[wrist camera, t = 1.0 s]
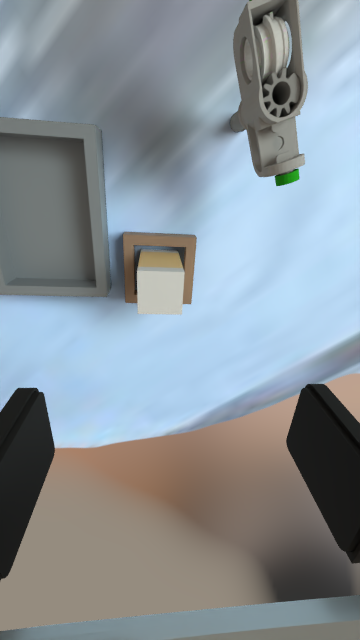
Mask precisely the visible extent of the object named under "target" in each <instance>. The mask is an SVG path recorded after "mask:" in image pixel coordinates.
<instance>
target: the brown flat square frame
mask: <svg viewBox="0 0 360 640" xmlns="http://www.w3.org/2000/svg"><path fill="white" fill-rule="evenodd" d="M196 239H197V238H196V236H195V235H186V234H164V233H141V232H124V234H123V248H124V275H125V302H126V303H138V298H137V290H135V252H134V245H147V246H172V247H185V250H184V265H183V269H184V272H185V274H184V289H183V304H191V299H192V287H193V275H194V263H195V251H196Z"/></svg>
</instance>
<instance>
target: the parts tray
mask: <svg viewBox="0 0 360 640" xmlns="http://www.w3.org/2000/svg"><path fill="white" fill-rule="evenodd" d="M110 289H111V276H110V260H109V244H108V228H107V212H106V195H105V179H104V163H103V147H102V131H101V130H100V129H99V128H98V127H97V126H96V125H90V124H78V123H65V122H53V121H41V120H29V119H17V118H4V117H0V295H42V296H87V297H107V296H108V294H109V291H110Z"/></svg>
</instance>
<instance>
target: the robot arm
mask: <svg viewBox="0 0 360 640" xmlns="http://www.w3.org/2000/svg"><path fill="white" fill-rule="evenodd" d="M286 442H287V447H288V450H289V452H290V454H291V456H292V457H293V459H294V461H295V463H296V465H297V467H298V469H299V471H300V473H301V474H302V477H303V479H304V481H305V482H306V484H307V486H308V488H309V490H310V492H311V494H312V496H313V498H314V500H315V502H316V503H317V506H318V507H319V509H320V511H321V513H322V515H323V517H324V519H325V521H326V523H327V525H328V527H329V529H330V531H331V533H332V534H333V536H334V538H335V540H336V542H337V544H338V546H339V547H340V548H341V550H343V551H346V553H347V555H348V557H349V559H350V561H351V562H352V563H360V423H359V422H358V421H357V420H356V419H355V418H354V417H353V415H352V414H351V413H350V412H349V411H348V410H347V409H346V407H344V405H343V404H342V403H341V402H340V401H339V400H338V398H337V397H336V396H335V395H334V394H333V393H332V392H331V391H330V389H329V388H328V387H327V386H326V385H324V384H307V385H306V387H305V388H303V389H302V390H301V393H300V396H299V399H298V403H297V406H296V410H295V413H294V416H293V419H292V423H291V426H290V429H289V433H288V436H287V440H286ZM54 451H55V447H54V441H53V437H52V432H51V427H50V422H49V417H48V412H47V407H46V402H45V397H44V394H43V392H39V391H38V389H37V388H18V389H17V390H16V391H15V392H14V393H13V395H12V396H11V398H10V399H9V401H8V402H7V403H6V405H5V406H4V408H3V409H2V411H1V412H0V580H1V579H2V578H6V576H8V574H9V572H10V570H11V568H12V565H13V562H14V560H15V557H16V555H17V552H18V549H19V547H20V544H21V541H22V538H23V536H24V533H25V531H26V528H27V526H28V523H29V520H30V518H31V515H32V512H33V510H34V507H35V504H36V502H37V499H38V497H39V494H40V491H41V489H42V486H43V483H44V481H45V478H46V476H47V473H48V470H49V468H50V465H51V462H52V460H53V457H54ZM0 640H360V595H356V596H346V597H334V598H323V599H312V600H300V601H289V602H279V603H268V604H258V605H247V606H236V607H226V608H216V609H205V610H195V611H185V612H174V613H164V614H154V615H144V616H135V617H125V618H115V619H105V620H96V621H86V622H77V623H66V624H56V625H47V626H39V627H31V628H23V629H16V630H7V631H0Z"/></svg>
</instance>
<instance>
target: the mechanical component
mask: <svg viewBox="0 0 360 640" xmlns="http://www.w3.org/2000/svg"><path fill="white" fill-rule="evenodd" d="M285 21H287V23H288V24H289V27H290V30H291V36H292V55H291V60H290V64H289V66H288V68H286V66H287V61H288V56H289V37H288V32H287V29H286V26H285V23H284V22H285ZM233 50H234V59H235V65H236V71H237V77H238V82H239V88H240V94H241V99H242V100H241V102H240V105H239V109H238V111H237V112H236V113H235V114H234V115H233V116H232V118H231V120H230V126H231V129H232V130H233V131H234V132H239V131H244V130H245V129H246V130H247V134H248V139H249V145H250V151H251V156H252V162H253V166H254V169H255V172H256V173H257V175H258V176H259V177H269V176H274V175H276V176H275V181H276V186H281V185H285V184H289V183H292V182H294V181H297V180H299V170H298V169H295V168H298V167H300V166H302V165H304V164H305V158H304V154H299V150H298V141H297V131H296V121H295V116H297V115H300V109H301V108H302V106H303V104H304V102H305V99H306V95H307V89H308V82H307V76H306V73H305V71H304V64H303V52H302V40H301V28H300V16H299V4H298V0H249V2H247V4H246V6H245V8H244V10H243V12H242V14H241V16H240V17H239V24H238V26H237V27H236V29H235V32H234V39H233Z"/></svg>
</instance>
